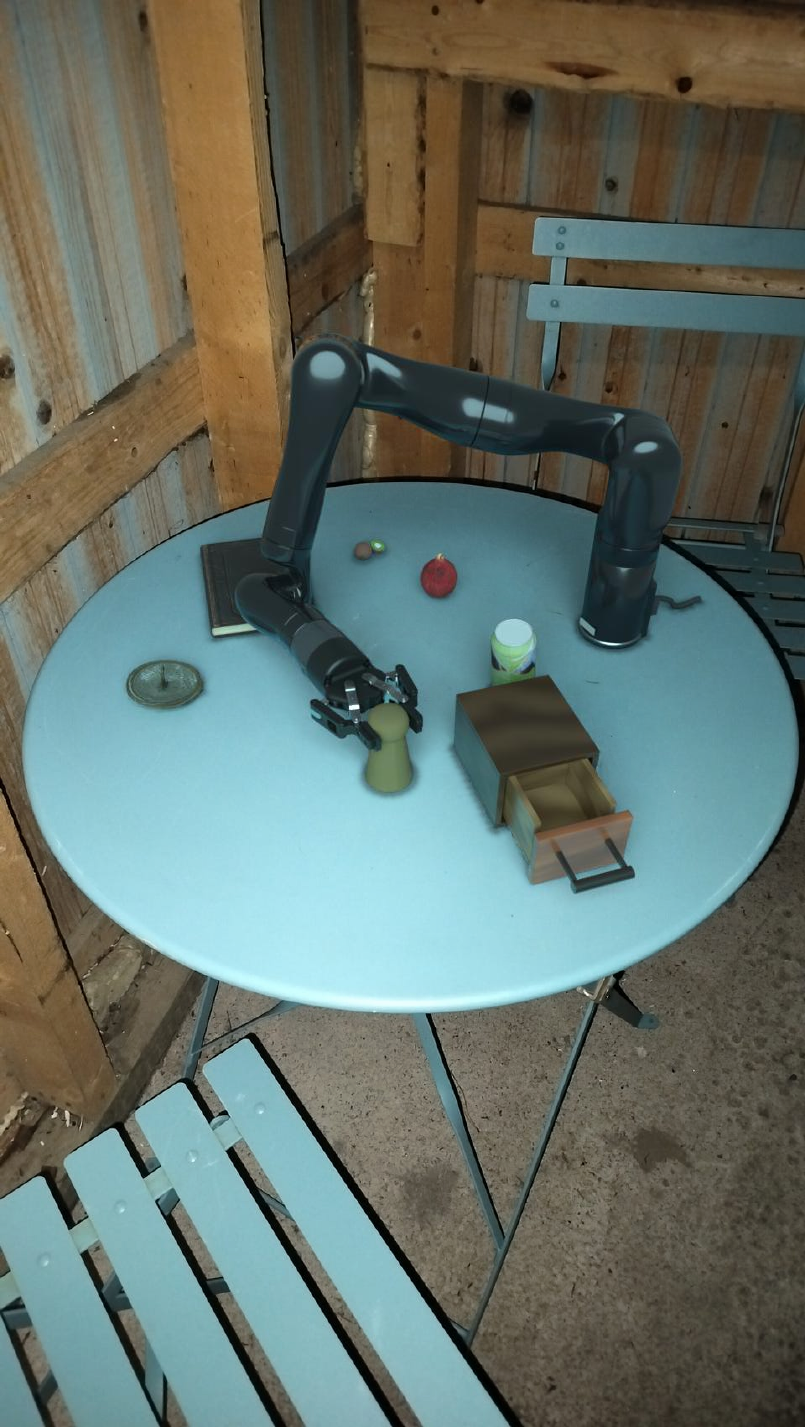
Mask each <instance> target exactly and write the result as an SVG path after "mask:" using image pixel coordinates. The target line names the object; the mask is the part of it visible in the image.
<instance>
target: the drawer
mask: <svg viewBox="0 0 805 1427" xmlns="http://www.w3.org/2000/svg"><path fill="white" fill-rule="evenodd" d="M617 805H618V803H617V801H616V800H615V798H614V797H613V795H612V793H611V792H610V791H609V789H608V788H607V786H606V785H605V783H604V781H603V780H602V778H601V777H600V775H599V773H598V772H597V770H596V771H595V769H594V768H593V766H592V765H591V763H590V761H589V760H588V758H586V759H582V760H578V761H573V762H569V763H565V764H561V765H557V766H552V767H548V768H544V769H540V770H535V771H531V772H527V773H523V774H519V775H514V776H510V777H506V780H505V790H504V799H503V808H502V815H503V817H504V819H505V821H506V822H507V824H508V826H507V827H508V828H509V830H510V832H511V834H512V836H513V838H514V839H515V842H516V844H517V845H518V847H519V849H520V852H521V853H522V855H523V857H524V859H525V861H526V863H527V864H528V874H527V879H528V880H529V883H530V885H531V886H535V885H538V884H543V883H546V882H550V881H554V880H558V879H561V878H565V877H567V878H568V879H569V882H570V883H569V884H570V889H571V892H572V893H573V894H574V895H577V894H581V893H585V892H588V891H592V890H595V889H599V888H603V887H607V886H611V885H615V884H617V883H622V882H625V881H629V880H632V879H635V878H636V872H635V869H634V867H633V866H632V865H628V864H627V862H626V860H625V859H624V857H625V852H626V848H627V844H628V840H629V836H630V832H631V829H632V825H633V820H634V816H633V814H632V813H631V811H630V810H629V809H625V810H622V811H618V812H616V809H617ZM614 864H618V866H619V868H615V869H612V870H608V871H604V872H600V873H596V874H592V875H590V876H586V877H582V878H579V879H578V878H577V877H576V875H577V874H580V873H584V872H587V871H591V870H595V869H599V868H602V867H603V868H604V867H607V866H610V865H614Z"/></svg>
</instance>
